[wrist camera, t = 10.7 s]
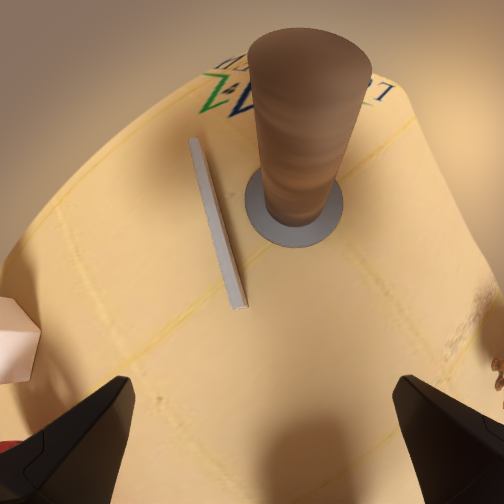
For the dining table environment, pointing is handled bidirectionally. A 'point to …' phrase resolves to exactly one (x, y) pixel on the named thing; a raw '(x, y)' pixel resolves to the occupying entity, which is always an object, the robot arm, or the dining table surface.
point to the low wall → (217, 227)
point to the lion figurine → (498, 366)
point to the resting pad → (285, 234)
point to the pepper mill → (304, 115)
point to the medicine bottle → (16, 342)
